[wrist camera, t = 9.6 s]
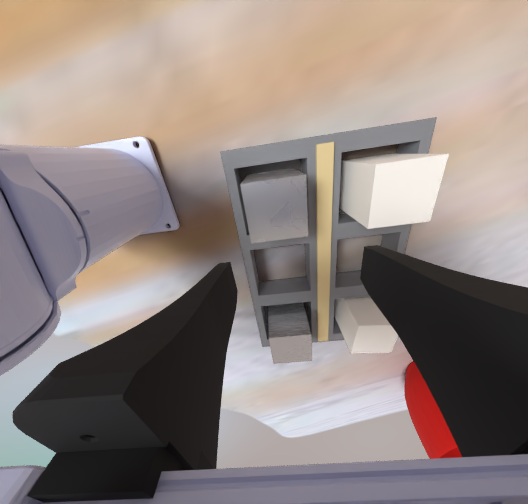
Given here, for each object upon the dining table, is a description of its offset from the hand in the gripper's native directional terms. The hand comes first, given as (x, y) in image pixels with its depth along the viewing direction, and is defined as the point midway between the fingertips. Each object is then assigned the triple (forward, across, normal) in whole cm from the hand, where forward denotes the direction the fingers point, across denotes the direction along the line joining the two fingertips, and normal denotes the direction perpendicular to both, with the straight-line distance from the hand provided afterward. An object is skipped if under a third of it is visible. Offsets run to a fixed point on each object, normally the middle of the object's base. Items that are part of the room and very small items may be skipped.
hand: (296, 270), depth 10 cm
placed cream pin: (+9, -7, -2) cm, 12 cm away
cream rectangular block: (+9, -8, +11) cm, 16 cm away
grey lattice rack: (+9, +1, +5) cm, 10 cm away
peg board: (+9, -3, +5) cm, 11 cm away
